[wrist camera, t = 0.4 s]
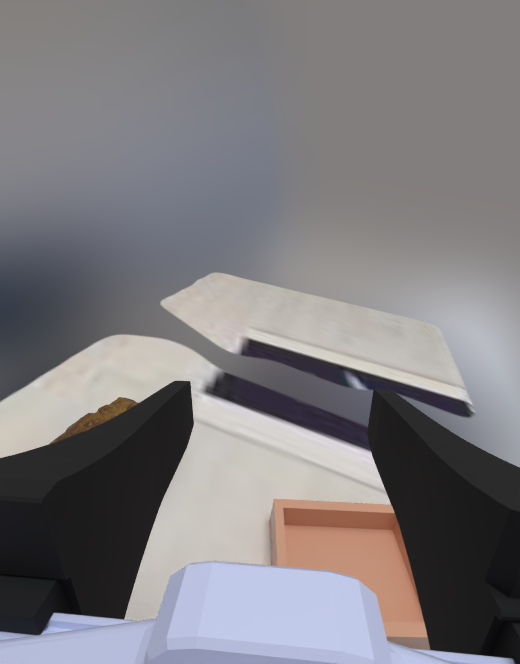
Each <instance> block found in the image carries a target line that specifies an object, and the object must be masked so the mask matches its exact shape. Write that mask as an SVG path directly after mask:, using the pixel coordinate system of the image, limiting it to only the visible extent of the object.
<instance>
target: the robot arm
mask: <svg viewBox="0 0 520 664" xmlns="http://www.w3.org/2000/svg"><path fill="white" fill-rule="evenodd" d="M193 425H194V421H193V409H192V397H191V385H190V381H174V382H172V383H170V384H169V385H167V386H165V387H164V388H162V389H161V390H159V391H157V392H156V393H154V394H153V395H151V396H150V397H148V398H146V399H145V400H143V401H142V402H140V403H138V404H137V405H135V406H133V407H131V408H130V409H128V410H126V411H124V412H123V413H121V414H119V415H118V416H116V417H114V418H112V419H110V420H108V421H106V422H104V423H102V424H99V425H97V426H95V427H93V428H91V429H89V430H86V431H84V432H81V433H79V434H76V435H73V436H71V437H68V438H66V439H63V440H61V441H58V442H55V443H52V444H49V445H46V446H43V447H40V448H36V449H33V450H30V451H26V452H23V453H19V454H16V455H12V456H8V457H3V458H0V664H520V468H519V467H517V466H515V465H513V464H510V463H508V462H506V461H504V460H502V459H500V458H498V457H496V456H494V455H492V454H489V453H487V452H486V451H484V450H482V449H480V448H478V447H476V446H475V445H473V444H471V443H469V442H467V441H466V440H464V439H462V438H460V437H459V436H457V435H455V434H454V433H452V432H450V431H449V430H448V429H446V428H444V427H443V426H441V425H440V424H438V423H437V422H435V421H434V420H432V419H431V418H429V417H428V416H427V415H425V414H424V413H422V412H421V411H420V410H418V409H417V408H415V407H414V406H413V405H411V404H410V403H409V402H407V401H406V400H404V399H403V398H402V397H400V396H399V395H397V394H396V393H394V392H393V391H391V390H382V389H374V391H373V397H372V404H371V411H370V418H369V424H368V431H367V435H368V439H369V444H370V448H371V452H372V456H373V459H374V461H375V464H376V467H377V469H378V472H379V474H380V477H381V479H382V482H383V485H384V487H385V490H386V492H387V495H388V497H389V500H390V502H391V505H392V507H393V510H394V512H395V515H396V518H397V521H398V524H399V527H400V531H401V534H402V538H403V541H404V545H405V548H406V552H407V555H408V559H409V563H410V567H411V571H412V575H413V578H414V582H415V586H416V590H417V594H418V598H419V603H420V607H421V611H422V615H423V619H424V623H425V628H426V632H427V637H428V641H429V646H430V650H423V649H413V648H407V647H404V646H401V645H398V644H395V643H392V642H389V641H387V638H386V634H385V630H384V625H383V621H382V617H381V613H380V609H379V604H378V600H377V596H376V594H375V593H374V592H372V591H371V590H370V589H369V588H368V587H366V586H365V585H364V584H363V583H361V582H360V581H359V580H358V579H356V578H355V577H352V576H349V575H345V574H341V573H337V572H334V571H330V570H318V569H306V568H294V567H283V566H271V565H259V564H247V563H235V562H223V561H207V562H197V563H191V564H189V565H187V566H185V567H184V568H182V569H181V570H179V571H178V572H176V573H175V574H173V575H172V576H170V579H169V582H168V585H167V588H166V591H165V594H164V597H163V600H162V603H161V606H160V610H159V613H158V616H157V619H151V620H143V621H133V620H124V618H125V614H126V611H127V607H128V603H129V600H130V597H131V593H132V590H133V587H134V583H135V580H136V577H137V573H138V570H139V567H140V564H141V560H142V557H143V554H144V551H145V548H146V545H147V542H148V539H149V536H150V533H151V530H152V527H153V524H154V521H155V518H156V516H157V513H158V510H159V507H160V505H161V502H162V500H163V497H164V495H165V493H166V491H167V489H168V487H169V484H170V482H171V480H172V478H173V476H174V474H175V472H176V469H177V467H178V465H179V463H180V461H181V459H182V456H183V454H184V452H185V450H186V448H187V445H188V442H189V439H190V435H191V432H192V429H193Z"/></svg>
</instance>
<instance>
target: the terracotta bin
mask: <svg viewBox="0 0 520 664" xmlns="http://www.w3.org/2000/svg"><path fill="white" fill-rule="evenodd" d="M270 537H271V563H272V566H283V567H294V568H306V569H318V570H330V571H334V572H337V573H341V574H345V575H349V576H352V577H355V578H356V579H358V580H359V581H360V582H361V583H363V584H364V585H365V586H366V587H368V588H369V589H370V590H371V591H372V592H374V593H375V594H376V596H377V600H378V604H379V609H380V613H381V617H382V621H383V625H384V630H385V634H386V638H387V641H389V642H392V643H395V644H398V645H401V646H404V647H407V648H413V649H423V650H430V646H429V641H428V637H427V632H426V628H425V623H424V619H423V615H422V611H421V607H420V603H419V598H418V594H417V590H416V586H415V582H414V578H413V575H412V571H411V567H410V563H409V559H408V555H407V552H406V548H405V545H404V541H403V538H402V534H401V531H400V527H399V524H398V521H397V518H396V515H395V512H394V510H393V507H392V505H383V504H363V503H344V502H324V501H305V500H286V499H274V502H273V507H272V511H271V516H270Z"/></svg>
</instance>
